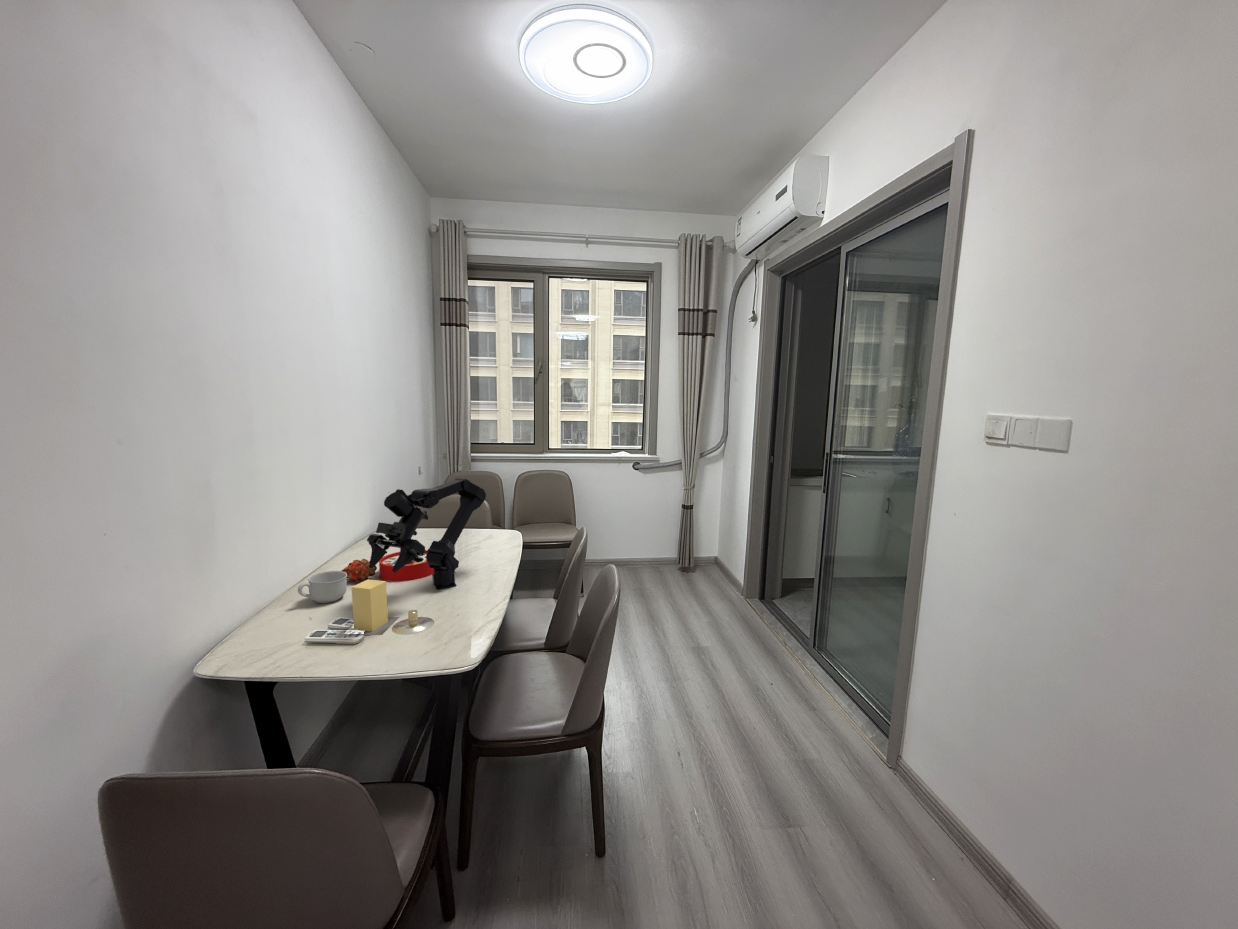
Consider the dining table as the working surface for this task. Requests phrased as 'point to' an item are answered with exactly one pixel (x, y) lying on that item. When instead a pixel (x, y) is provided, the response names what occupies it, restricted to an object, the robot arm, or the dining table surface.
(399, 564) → the robot arm
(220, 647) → the dining table surface
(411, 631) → the silver metal disc
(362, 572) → the dragon fruit
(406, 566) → the toy clock
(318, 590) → the teacup
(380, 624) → the tan wooden brick
